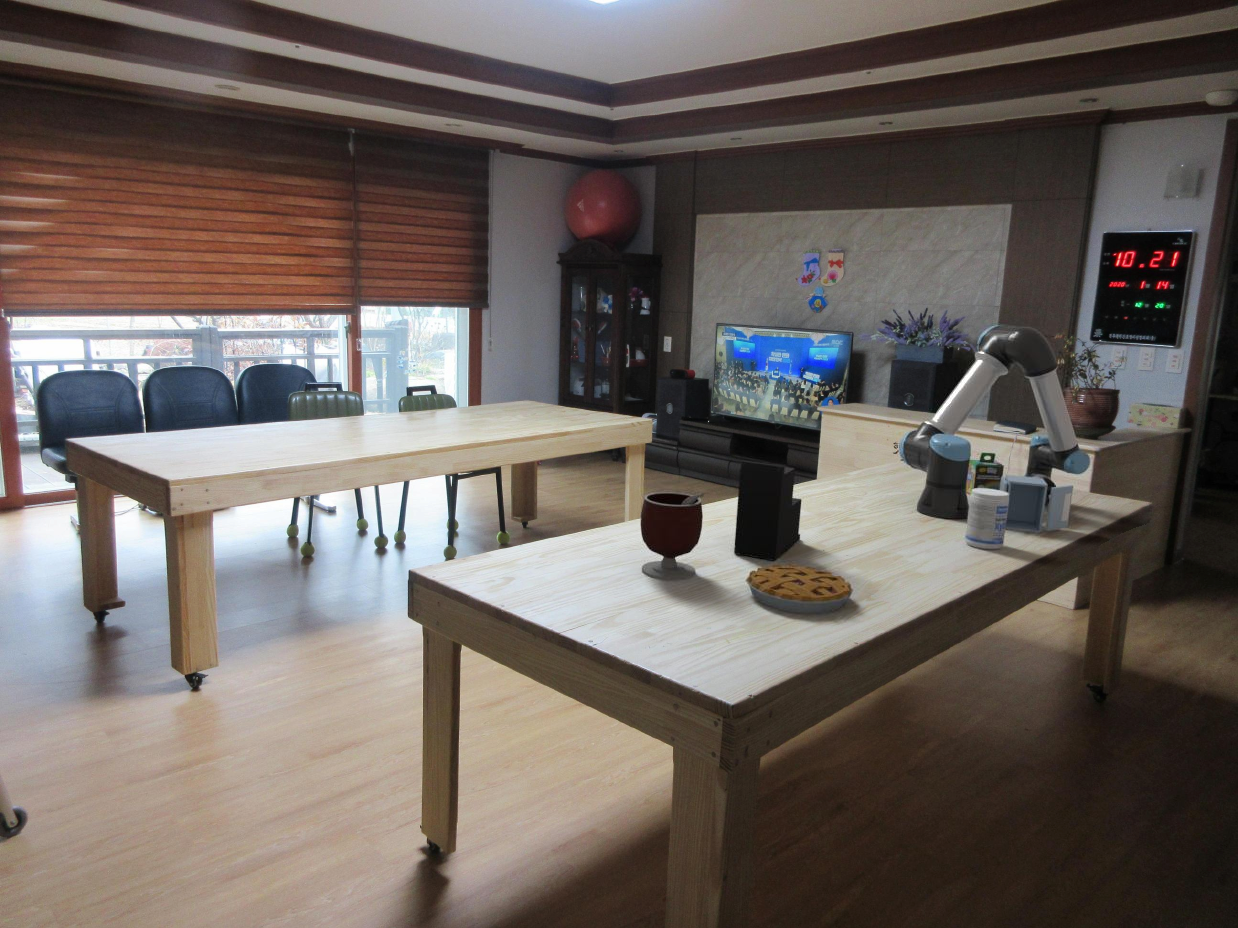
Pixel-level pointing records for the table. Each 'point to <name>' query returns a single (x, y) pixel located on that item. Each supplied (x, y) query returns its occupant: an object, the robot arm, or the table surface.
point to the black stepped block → (766, 511)
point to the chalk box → (984, 473)
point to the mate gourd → (671, 532)
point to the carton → (1024, 502)
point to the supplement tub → (987, 518)
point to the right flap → (1059, 507)
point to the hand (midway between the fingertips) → (1054, 504)
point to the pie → (799, 589)
